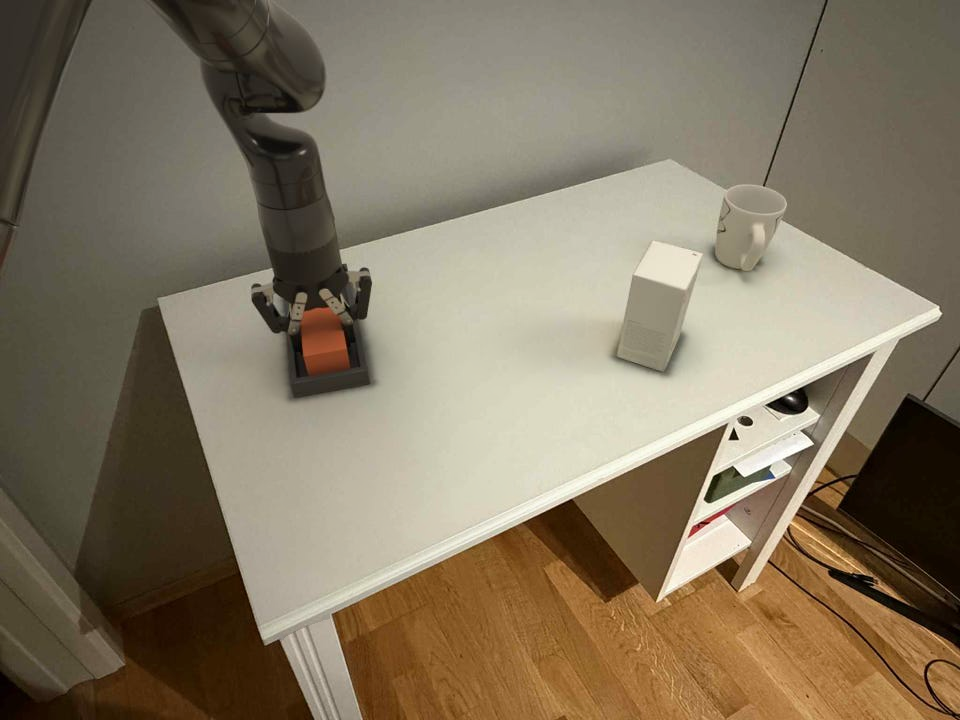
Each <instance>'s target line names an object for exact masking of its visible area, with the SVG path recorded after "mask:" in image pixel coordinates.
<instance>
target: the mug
mask: <svg viewBox="0 0 960 720" xmlns="http://www.w3.org/2000/svg"><path fill="white" fill-rule="evenodd" d="M787 205H788V204H787V200H786V198H785V197H784V196H783V195H782V194H781V193H779V192H778V191H776V190H774V189H772V188H770V187H766V186H763V185H759V184H758V185H757V184H747V183H746V184H745V183H744V184H736V185H734V186H731V187H729V188H728V189H727V190H726V191H725V192H724V195H723V198H722V203H721V207H720V212H719V216H718V221H717V227H716V239H715V248H714V255H715V257H716V260H717V261H718V262H720V264H722V265H724V266H726V267H728V268H732V269H736V270H742V271H744V272H750V271H752V270H753V269H754V268H755V266H756V265H757V264H758V263H759V261H760V259H761V258H762V256H763V255H764V254H765V252H766V250H767V248H768V246H769V245H770V243H771V241H772V239H773V238H774V236H775V234H776V232H777V230H778V227H779V226H780V223H781V221H782V219H783V217H784V214H785V212H786V210H787Z"/></svg>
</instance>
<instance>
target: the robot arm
mask: <svg viewBox="0 0 960 720" xmlns="http://www.w3.org/2000/svg"><path fill="white" fill-rule="evenodd" d="M94 1H95V0H0V289H1V287H2V284H3V281H4V278H5V275H6V271H7V268H8V264H9V262H10V258H11V255H12V252H13V249H14V246H15V243H16V239H17V236H18V233H19V231H18V230H17V228H20V227H21V222H22V219H23V215H24V211H25V207H26V203H27V199H28V197H29V196H28V195H29V191H30V188H31V184H32V180H33V176H34V172H35V168H36V164H37V161H38V158H39V155H40V151H41V148H42V146H43V143H44V139H45V138H46V137H45V136H46V133H47V131H48V127H49V125H50V121H51V118H52V115H53V113H54V109H55V106H56V103H57V101H58V97H59V95H60V91H61V88H62V85H63V83H64V79H65V78H66V76H67V75H66V74H67V72H68V70H69V66H70V64H71V61H72V58H73V55H74V52H75V49H76V46H77V44H78V41H79V39H80V38H79V37H80V36H81V34H82V33H81V32H82V29H83V27H84V24H85V22H86V19H87V17H88V15H89V12H90V10H91V8H92V5H93V3H94ZM144 1H145V3H147V4H148V6H149V7H150V8H151V9H152V10H153V11H154V12H155V13H156V14H157V15H158V16H159V17H160V18H161V20H163V22H164V23H165V24H166V26H168V27H169V29H171V30H172V31H173V32H174V33H175V34H176V35H177V37H178V38H179V39H180V40H181V41H182V42H183V43H184V44H185V45H186V46H187V48H188V49H189V50H190V51H191V52H192V53H193V54H194V55H195V56H196V57H197V58H198V60H197V61H198V62H197V64H198V70H199V75H200V79H201V82H202V85H203V88H204V90H205V92H206V94H207V96H208V98H209V100H210V102H211V104H212V106H213V108H214V109H215V111H216V112H217V114H218V116H219V117H220V119H221V120H222V122H223V124H224V125H225V127H226V128H227V130H228V132H229V133H230V135H231V137H232V139H233V141H234V143H235V145H236V146H237V149H238V150H239V151H240V154H241V155H242V157H243V159H244V161H245V164H246V166H247V170H248V173H249V177H250V182H251V185H252V188H253V192H254V196H255V201H256V206H257V214H258V215H257V216H258V221H259V224H260V229H261V233H262V235H263V238H264V244H265V246H266V250H267V254H268V257H269V261H270V264H271V269H272V272H273V278H272V282H269V283H267V284H263V285H262V284H260V283H258V282H257V283H256V282H255V283H252V285H251V287H250V291H251V292H250V293H251V294H250V295H251V300H250V301H251V303H252V304H253V306H254V307H255V309H256V310H257V312H258V314H260V316H261V318H262V319H263V321H264V322H265V324H266V325H267V327H268V328H269V330H270V331H271V333H273V334H276V335H277V334H280V333H282V332H284V333H286V332H287V333H288V334H289V335H290V339H291V342H292V346H293V350H294V351H295V352H300V355H301V356H303V348H302V333H301V325H300V323H301V321H302V317H303V313H304V311H310V310H313V309H315V308H328V307H330V309H331V310H332V311H333V313H334V314H335V315H336V316H338V317H339V319H340V320H341V325H342V331H343V332H344V337H345V342H346V347H347V348H350V347H351V343H355V340H356V338H355V332H354V327H353V323H354V321H355V320H357V319H358V320H361V321H363V320H366V319H367V318H368V312H369V308H370V307H369V306H370V300H371V293H372V286H373V281H372V277H371V272H370V269H369V268H368V267H361V268H360V269H359V270H358V271H355V270H348V271H347V269H346V268H345V267H344V266H343V264H344V263H343V262H342V261H343V260H342V255H341V251H340V245H339V240H338V234H337V228H336V223H335V220H336V218H335V215H334V212H333V207H332V203H331V200H330V198H329V195H328V191H327V187H326V181H325V175H324V171H323V165H322V160H321V154H320V149H319V146H318V144H317V140H316V139H315V138H314V137H313V135H311V134H310V133H309V132H307V131H304V130H303V129H300V128H296V127H293V126H288V125H285V124H282V123H279V122H276V121H275V120H273V119H271V118H270V117H269V115H268V114H303V113H306V112H309V111H310V110H313V109H314V108H315V107H316V106H317V105H318V104H319V103H320V101H321V100H322V99H323V96H324V94H325V91H326V88H327V87H326V86H327V69H326V64H325V60H324V57H323V54H322V52H321V49H320V47H319V45H318V43H317V42H316V39H315V38H314V37H313V36H312V34H311V33H310V31H309V30H308V29H307V28H306V27H305V25H303V24H302V23H301V22H300V21H299V20H298V19H297V18H296V17H295V16H293V15H292V14H291V13H290V12H288V11H287V10H286V9H284V8H283V6H281V5H280V4H278V3H277V2H276V1H275V0H144ZM348 282H350V283H351V285H352V289H354V290H355V298H354V303H355V304H354V305H352V306H350V307H349V306H348V304H347V303H346V301H345V300H344V298H343V296H342V294H341V293H342V291H343V290H344V288H345V286H346V285H347V283H348ZM275 294H276V295H277V296H279V298H281V299H282V300H283V301H284V300H286V301H287V302H289V311H288V316H287V317H285V315H284V316H283V315H281V313H280V311H279V310H278V309H277V307H276V305H275V304H274V295H275Z"/></svg>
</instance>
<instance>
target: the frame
mask: <svg viewBox="0 0 960 720" xmlns="http://www.w3.org/2000/svg"><path fill="white" fill-rule="evenodd" d="M342 264H343V266H344V267H345V268H346V269H347V271H349V268H348V264H347V262H346V263H342ZM341 294H342V296H343V298H344V300H345V301H346V303H347V304H348V306H349V307H350V306H352V305H354V304H355V298H354V293H353V287H352V283H350V282H348V283H347V285H346V286H345V288H344V290H343V291H342V293H341ZM283 307H284V308H283V309H284V316H285V317H287V316H288V311H289V302H287V301H286V300H284V299H283ZM353 327H354V332H355V338H356V340H355V343H351V347H350V348H347V352H348V358H349V364H350V369H346V370H340V371H335V372H329V373H323V374H318V375H312V376H308V372H307V368H306V365H305V361H304V357H303V356H301V355H300V352H295V351H294V350H293V346H292V342H291V339H290V335H289V334H288V333H287V332H285V335H286V349H287V350H286V351H287V363H288V364H287V365H288V377H289V379H288V380H289V386H290V389H291V392H292V395H293V398H294V399H295V398H301V397H305V396H311V395H316V394H317V395H318V394H322V393H328V392H333V391H337V390H344V389H348V388H355V387H361V386H366V385H370V384H371V381H370V380H371V379H370V373H369V367H368V363H367V358H366V353H365V349H364V343H363V339H362V338H363V337H362V334H361V327H360V323H359V319H357V320H355V321H354V323H353Z"/></svg>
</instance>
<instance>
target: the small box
mask: <svg viewBox="0 0 960 720" xmlns="http://www.w3.org/2000/svg"><path fill="white" fill-rule="evenodd" d="M703 257H704V253H701V252H698V251H695V250H692V249H688V248H684V247H681V246H677V245H674V244H673V245H672V244H669V243H665V242H661V241H657V240H652V241H651V242H650V244H649V245H648V247H647V249H646V251H644V253H643V256H642V257H641V259H640V261H639V263H638V264H637V266H636V267H635V269H634V271H633V273H632V276H631V282H630V287H629V292H628V297H627V302H626V307H625V312H624V317H623V322H622V326H621V333H620V336H619V341H618V346H617V350H616V351H617V352H616V357H617V358H620V359H622V360H626V361H628V362H632V363H634V364H637V365H641V366H643V367H647V368H650V369H652V370H656V371H659V372H665V371H666V369H667V366H668V364H669V361H670V359H671V357H672V355H673V352H674V350H675V348H676V345H677V343H678V341H679V340H680V336H681V332H682V329H683V325H684V322H685V318H686V314H687V311H688V308H689V304H690V301H691V298H692V295H693V291H694V288H695V284H696V282H697V281H696V280H697V277H698V274H699V270H700V267H701V263H702V260H703Z"/></svg>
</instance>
